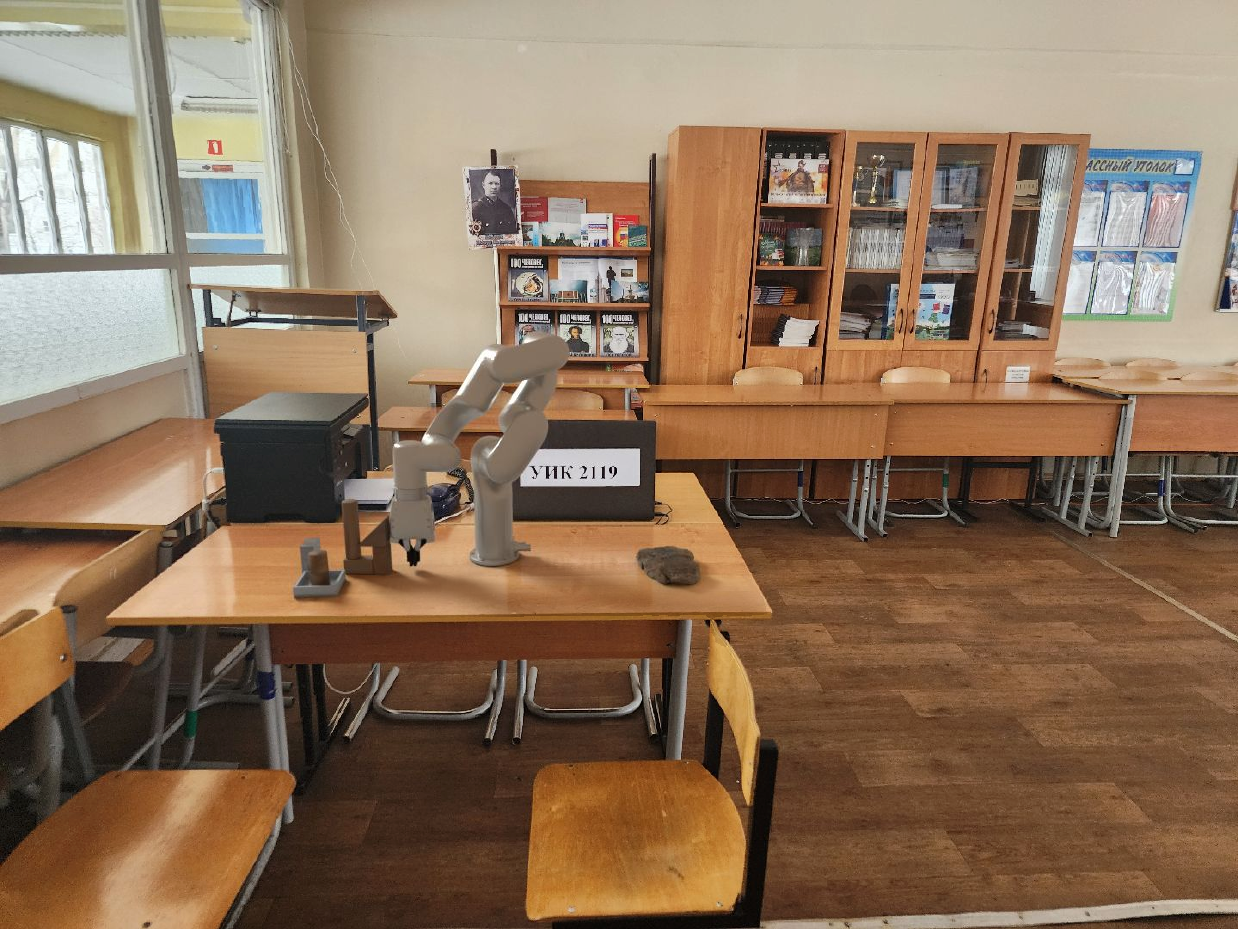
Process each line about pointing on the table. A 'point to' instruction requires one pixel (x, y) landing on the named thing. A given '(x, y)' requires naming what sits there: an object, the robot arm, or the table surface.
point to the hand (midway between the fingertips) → (413, 564)
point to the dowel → (319, 568)
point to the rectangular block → (308, 551)
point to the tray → (307, 590)
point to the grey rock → (669, 565)
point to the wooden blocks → (365, 544)
